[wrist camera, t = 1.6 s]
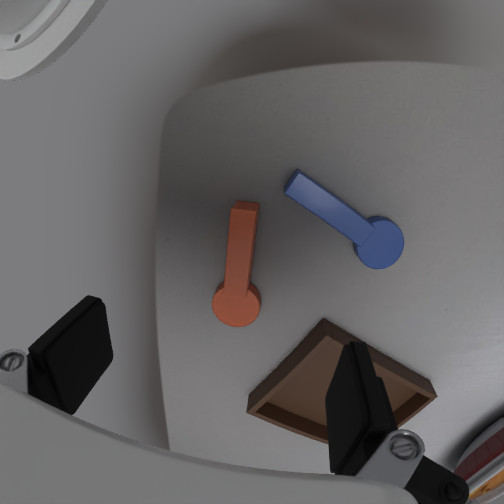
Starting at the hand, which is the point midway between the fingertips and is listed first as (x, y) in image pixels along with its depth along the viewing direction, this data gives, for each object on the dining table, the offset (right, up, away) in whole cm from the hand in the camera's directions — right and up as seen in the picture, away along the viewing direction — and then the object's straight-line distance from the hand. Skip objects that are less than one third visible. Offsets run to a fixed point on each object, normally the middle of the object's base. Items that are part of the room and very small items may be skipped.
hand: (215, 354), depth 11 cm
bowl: (+41, -26, +18) cm, 52 cm away
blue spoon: (+8, +6, +10) cm, 14 cm away
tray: (+10, -10, +15) cm, 21 cm away
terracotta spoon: (+1, +3, +12) cm, 12 cm away
